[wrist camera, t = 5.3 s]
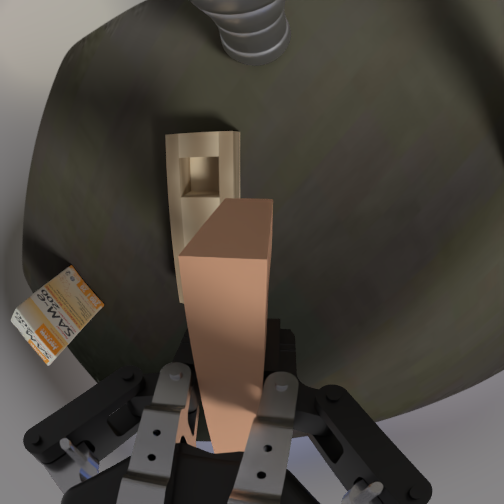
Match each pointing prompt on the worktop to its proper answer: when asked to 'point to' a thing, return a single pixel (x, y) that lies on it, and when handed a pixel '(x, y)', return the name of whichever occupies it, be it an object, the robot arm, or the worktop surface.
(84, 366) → the worktop surface
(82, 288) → the supplement box
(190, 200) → the rail
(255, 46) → the metal bottle
